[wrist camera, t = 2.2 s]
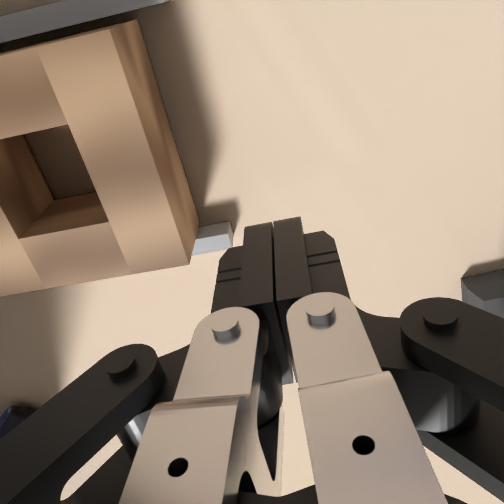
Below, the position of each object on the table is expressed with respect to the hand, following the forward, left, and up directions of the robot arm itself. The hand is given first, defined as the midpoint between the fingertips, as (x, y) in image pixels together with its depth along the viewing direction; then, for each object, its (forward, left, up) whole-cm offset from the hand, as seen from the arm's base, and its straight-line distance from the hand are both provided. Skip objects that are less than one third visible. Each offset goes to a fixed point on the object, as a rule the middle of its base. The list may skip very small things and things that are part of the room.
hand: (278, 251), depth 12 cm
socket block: (0, -11, -14) cm, 17 cm away
